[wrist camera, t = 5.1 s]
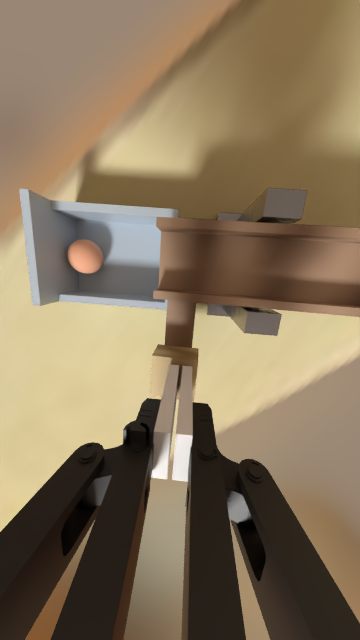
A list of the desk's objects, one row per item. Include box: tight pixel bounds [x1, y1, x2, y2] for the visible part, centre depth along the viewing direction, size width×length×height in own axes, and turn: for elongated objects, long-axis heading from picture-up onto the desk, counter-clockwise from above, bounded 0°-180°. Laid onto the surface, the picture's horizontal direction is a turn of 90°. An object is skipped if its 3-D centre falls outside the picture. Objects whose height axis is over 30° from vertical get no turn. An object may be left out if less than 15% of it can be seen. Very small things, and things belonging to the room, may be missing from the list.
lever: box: [150, 217, 360, 401], centre depth 15 cm, size 18×14×3 cm
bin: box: [19, 189, 179, 310], centre depth 19 cm, size 12×9×7 cm
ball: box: [67, 239, 103, 273], centre depth 21 cm, size 3×3×3 cm
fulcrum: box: [207, 188, 307, 336], centre depth 18 cm, size 13×11×10 cm
